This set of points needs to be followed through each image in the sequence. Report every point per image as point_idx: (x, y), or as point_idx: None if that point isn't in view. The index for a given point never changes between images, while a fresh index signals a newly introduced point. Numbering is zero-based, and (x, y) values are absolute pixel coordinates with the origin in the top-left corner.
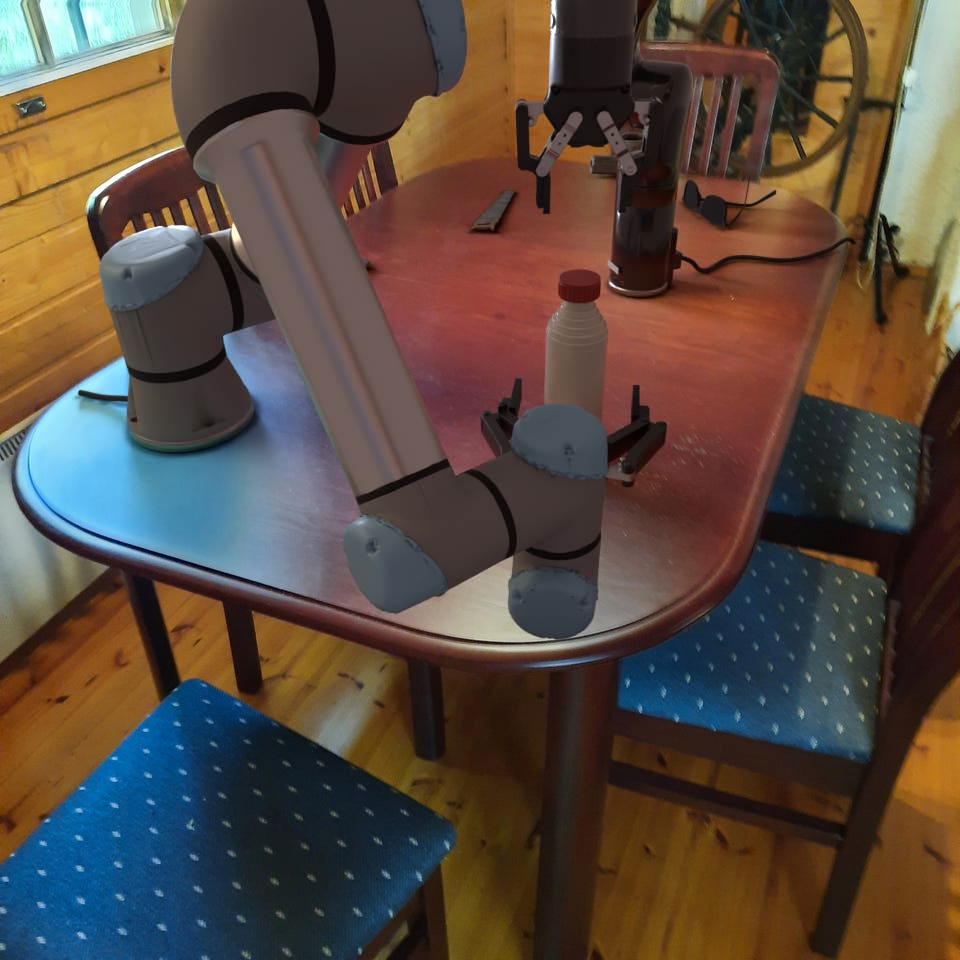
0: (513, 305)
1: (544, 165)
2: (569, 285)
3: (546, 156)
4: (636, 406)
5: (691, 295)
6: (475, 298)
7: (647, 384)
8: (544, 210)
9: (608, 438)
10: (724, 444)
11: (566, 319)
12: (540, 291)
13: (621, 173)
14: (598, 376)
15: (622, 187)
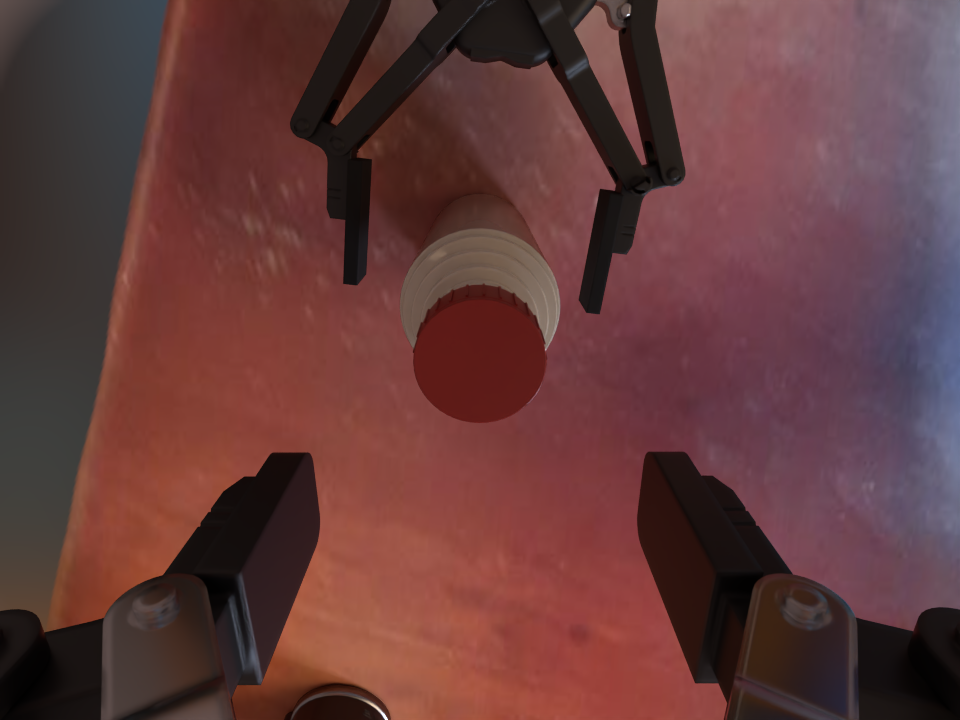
0: (553, 666)
1: (809, 635)
2: (517, 309)
3: (834, 698)
4: (353, 197)
5: (253, 690)
6: (616, 687)
7: (337, 431)
8: (681, 455)
9: (418, 65)
10: (210, 245)
11: (516, 278)
12: (505, 705)
13: (243, 625)
14: (430, 235)
15: (255, 528)
